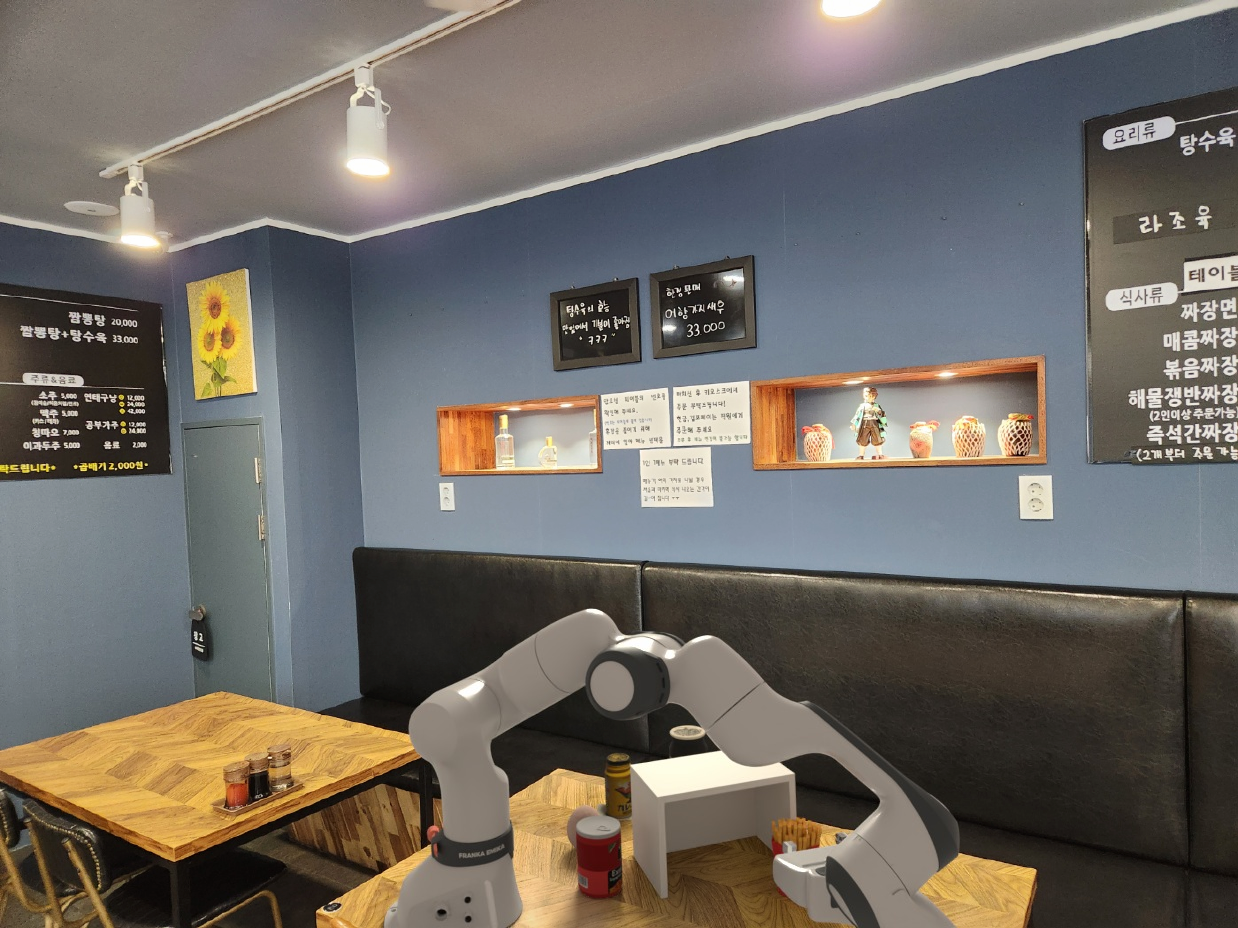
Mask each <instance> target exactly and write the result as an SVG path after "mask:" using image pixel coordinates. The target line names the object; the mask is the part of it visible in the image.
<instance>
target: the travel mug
mask: <svg viewBox="0 0 1238 928" xmlns="http://www.w3.org/2000/svg"><path fill="white" fill-rule="evenodd" d="M669 734H670V736H671V742H670V745H669V747H668V749H669V750H668V751H669V753H668V754H669V759H672V758H678V757H685V756H691V755H697V754H704V753H709V752H708V745H707V743H706V741H705V735H707V732H705V731H704V730H703V728H702V727H701V726H696V725H680V726H676V727H673V728H671V730H669Z"/></svg>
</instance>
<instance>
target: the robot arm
mask: <svg viewBox="0 0 1238 928" xmlns="http://www.w3.org/2000/svg"><path fill="white" fill-rule="evenodd" d="M583 687H585V692H586V694H587V698H588V700H589V702H590V704H591V705H592V706H593V708H594V709H595V710H596V712H598V713H599V714H600V715H601V716H603V717H605V718H607V719H611V720H614V721H615V720H616V721H631V720H635V719H639V718H642V717H644V716H646V715H648V714H650V713H652V712H654V711H657V710H659V709H662V708H664V707H665V706H666V705H668V704H676V705H679V706H681V707H683V709H685V710H687V711H688V713H690V714H691V716H692V717H693V718H694V719H695V721H696V722H697V723H698V724H699V727H700V728H703V730H704V731H705V732H706V735H707V736H708V737H709V739H710V740H711V741H712V742H713V743H714V745H715V746H716V747H717V748H718V749H719V751H722V752H723V753H724V754H725V755H726V756H727V757H728V758H729V759H730V760H731V761H733V762H735V763H737V764H740V765H743V766H749V767H762V766H768V765H772V764H775V763H782V762H784V761H788V760H790V759H793V758H796V757H799V756H803V755H807V754H822V755H826V756H829V757H831V758H833V760H836V761H837V762H838V763H839V764H840V765H841V766H843V768H845V769H846V770H847V771H848V772H850V774H852V775H853V776H854V777H855V778H857V780H858V781H860V782H861V783H862V784H863V785H864V786H866V787H867V788H868V789H870V791H871V792H873V793H874V794H875V795H876V796H877V798H878V799H879V801H880V802H879V805H878V807H877V809H875V810H874V811H873V812H872V813H871V814H870V815H869V816H868V817H867V818H866V819H865V820H864V821H863V822H862V823H861V824H860V825H858V827H856V829H855V830H853V831H852V832H850V833H849V834H848V833H846V832H845V831H841V832H837V833H835V835H834V836H835V839H834V840H835V844H831V845H826V846H820V847H819V848H814V849H808V850H802V851H797V852H796V849H797V845H796V844H795V843H793V841H787V842H783V853H784V854H779V855H776V856H775V858H774V857H773V862H772V876H773V880H774V882H775V884H776V886H777V888H778V887H779V888H780V889H781V890H782V891H783V892H784V893H785V894H786V895H787V896H788V897H787V898H789V899H790V900H791V901H792V902H793V903H795V904H796V905H797V906H800V907H802V908H805V909H806V910H807V912H806V913H807V916H808V917H809V919H811V920H812V921H813V922H816V923H833V924H834V923H835V924H841V925H842V924H843V925H848V926H851V927H852V926H853V927H855V928H958V927H957V926H956V924H954V923H953V922H952V920H951V919H950V918H949V917H948V916H947V915H946V914H945V913H944V912H943V911H942V910H941V909H940V908H939V907H938V906H937V905H936V904H935V903H934V902H932V900H930V899H929V898H928V897H927V896H926V895H925V894H924V893H923V892H921V891H920V889H922V887H923V886H924V885H926V884H927V882H928V881H929V880H930V879H931V878H932V877H933V876H934V875H936V873H939V872H940V871H942V869H944V868H945V867H947V866H948V865H950V863H952V862H953V861H954V860H955V859H956V858H958V857H959V853H960V830H959V829H960V828H959V823H958V821H957V819H956V818H955V817H954V814H952V813H951V812H950V810H949V809H948V808H947V807H946V805H944V804H943V803H942V802H941V801H940V800H939V799H937V798H936V797H935V796H933V795H932V794H930V793H929V792H927V791H926V790H925V789H923V788H922V787H921V786H919V785H918V784H917V783H915V782H914V781H912V780H911V779H910V778H908V777H907V776H906V775H905V774H903V772H901V771H900V770H898V769H897V768H896V767H895V766H893V764H891V763H890V762H889V761H888V760H886V759H885V758H884V757H883V756H882V755H880V754H879V753H878V752H877V751H876V750H874V749H873V748H872V747H871V746H870V745H868V744H867V743H866V742H865V741H864V740H862V738H860V737H859V736H858V735H856V733H854V732H853V731H851V730H850V728H848V727H847V726H845V725H844V724H843V723H842V722H840V720H838V719H837V718H835V717H834V716H833V715H832V714H831V713H829V712H828V711H827V710H825V709H823V708H822V707H820V706H819V705H817V704H815V703H813V702H810V701H809V700H804V701H798V702H796V701H793V700H790V699H788V698H786V697H784V696H782V695H781V694H779V693H778V692H776V691H775V690H774V689H773V688H772V687H771V686H769V685H768V683H767V682H766V681H765V680H764V679H763V678H762V677H761V675H760V674H759V673H758V672H757V671H756V670H755V669H754V668H753V667H752V666H751V664H750V663H748V662H747V661H746V660H745V659H744V658H743V657H742V656H741V655H740V654H739V653H738V652H736V651H735V649H733V648H732V647H731V646H730V645H729V644H727V643H726V642H724V640H722V639H721V638H719V637H716V636H714V635H701V636H698V637H695V638H693V639H691V640H689V641H688V642H685V641H684V640H683V639H681V638H679V637H678V636H676V635H675V634H671V633H667V632H662V631H645V630H633V631H632V632H631V633H630V634H628V635H626V634H623V633H622V632H621V631H620V630H619V629H618V626H617V624H616V623H615V622H614V620H613V619H612V618H611V616H609V615H608V614H607V613H605V612H603V611H601V610H599V609H596V608H587V609H586V608H585V609H583V610H580V611H577V612H574V613H572V614H569V615H567V616H565V617H563V618H560V619H558V620H557V621H554V622H552V623H550V624H549V625H547V626H546V627H544V628H542V629H540V630H539V631H537V632H536V633H534V634H532V635H531V636H529V637H528V638H525V639H524V640H523V641H521V642H519V643H518V644H516V645H514V646H513V647H512V648H510V649H508V650H507V651H505V652H504V653H503V655H502V656H501V657H499V658H498V659H497V660H496V661H494V662H493V663H491V664H490V665H488V666H487V667H485V668H484V669H482V670H480V671H477V673H474V674H472V675H470V676H468V677H466V678H463V679H461V680H459V681H457V682H455V683H453V684H451V685H448V686H446V687H444V688H441V689H439V690H437V691H435V692H434V693H432V694H431V695H430V696H429V697H427V698H426V699H425V700H424V701H423V702H421V703H420V705H418V706H417V707H416V708H415V709H414V710H413V712H412V713H411V715H410V718H409V721H408V723H409V724H408V735H409V740H410V743H411V746H412V747H413V750H415V752H416V753H417V754H418V755H419V756H420V758H422V759H424V760H425V761H427V762H429V763H430V764H431V765H432V767H433V769H434V771H435V774H436V776H437V778H438V782H439V783H438V784H439V787H440V794H441V808H442V809H441V810H442V828H441V829H440V828H439V827H438V826H437V825H432V826H430V827H428V829H427V832H426V835H427V840H428V841H429V842H430V854H429V855H428V856H427V857H426V858H425V859H424V860H423V861H421V862H420V863H419V864H418V865H417V866H416V867H415V868H413V869H412V870H411V871H410V872H409V873H407V875H406V876H405V878H404V879H403V880H402V884H401V887H400V889H399V892H398V893H399V894H398V898H397V900H395V901H394V902H393V903H392V904H391V905H390V907H389V908H388V909H387V912H386V913H385V916H384V922H383V928H508V927H510V925H512V924H514V922H516V920H518V918H519V917H520V915H521V914H522V912H523V907H524V903H523V900H522V898H521V894H520V892H519V891H520V890H519V887H518V883H517V879H516V874H515V873H516V872H515V868H514V860H513V858H514V851H515V835H514V834H515V831H514V827H513V822H512V820H511V815H510V814H511V813H510V811H511V810H510V790H509V789H510V785H509V783H510V782H509V777H508V775H507V774H506V772H505V771H504V769H502V768H500V767H498V766H497V765H495V763H494V760H493V758H492V752H491V743H492V740H494V739H495V738H497V737H498V736H500V735H501V734H503V733H505V732H506V731H508V730H510V729H511V728H513V727H515V726H517V725H519V724H521V723H522V722H524V721H526V720H528V719H529V718H531V717H533V716H535V715H536V714H539V713H540V712H542V711H544V710H546V709H547V708H549V707H551V706H552V705H554V704H556V703H558V702H559V701H561V700H563V699H565V698H566V697H568V696H570V695H571V694H573V693H575V692H577V691H579V690H580V689H581V688H583Z"/></svg>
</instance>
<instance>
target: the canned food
mask: <svg viewBox="0 0 1238 928" xmlns="http://www.w3.org/2000/svg"><path fill="white" fill-rule="evenodd" d="M620 822H621V821H620V820H616V819H615V818H612V817H609V816H591V817H587V818H584V819H582V820H580V821H579V822H578V823H577V825H576V848H577V849H576V848H575V849H576V867H577V868H576V869H577V886H578V889H579V892H581V894H582V895H584V896H586V897H587V898H589V899H594V900H604V899H605V900H606V899H608V898H609V899H610V898H612V897H614V896H616V895H618V894H619V893H620V891H621V890H622V887H623V882H624V881H623V854H622V853H623V852H622V849H623V847H622V829H621V828H622V827H621V823H620Z"/></svg>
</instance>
